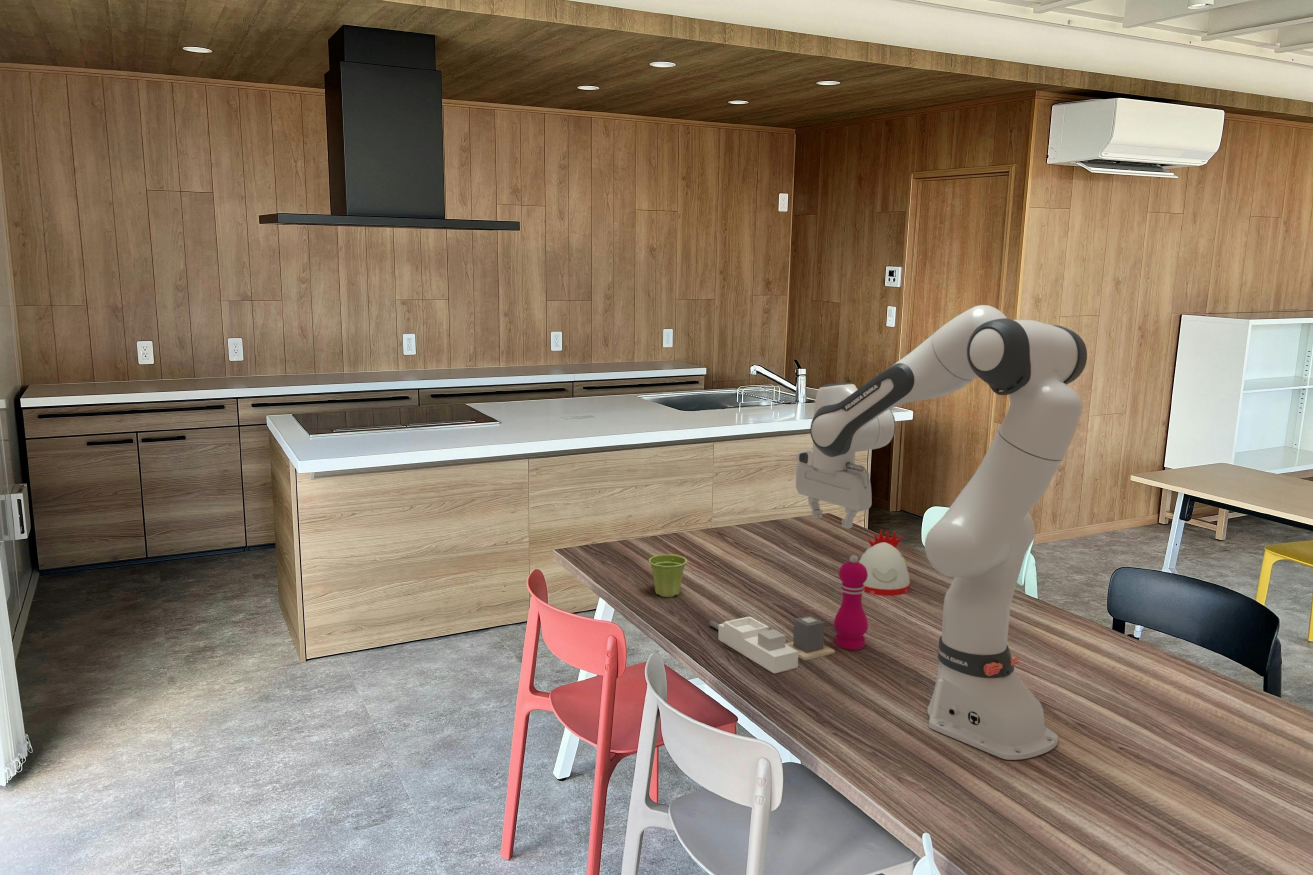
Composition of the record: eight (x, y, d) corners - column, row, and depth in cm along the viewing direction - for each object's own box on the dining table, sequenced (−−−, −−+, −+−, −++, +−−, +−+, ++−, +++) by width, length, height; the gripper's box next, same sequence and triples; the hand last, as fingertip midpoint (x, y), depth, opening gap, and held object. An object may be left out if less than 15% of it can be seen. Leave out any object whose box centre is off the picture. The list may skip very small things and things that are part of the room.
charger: (823, 649, 194) (824, 621, 193) (806, 653, 192) (807, 625, 191) (809, 641, 198) (810, 614, 197) (793, 645, 196) (794, 618, 195)
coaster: (834, 652, 194) (834, 650, 194) (805, 660, 190) (805, 657, 190) (810, 639, 201) (810, 637, 201) (781, 647, 197) (781, 644, 197)
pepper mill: (867, 652, 194) (871, 561, 191) (832, 649, 196) (836, 559, 192) (866, 639, 201) (871, 551, 198) (833, 636, 203) (836, 549, 199)
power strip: (799, 666, 187) (800, 639, 186) (772, 674, 183) (773, 645, 182) (723, 622, 210) (723, 597, 209) (697, 628, 207) (698, 603, 206)
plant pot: (686, 600, 225) (687, 566, 224) (648, 599, 225) (648, 565, 224) (686, 587, 234) (686, 554, 233) (649, 586, 235) (649, 554, 233)
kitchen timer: (912, 597, 228) (915, 539, 226) (855, 593, 231) (858, 536, 228) (906, 579, 242) (909, 524, 239) (852, 576, 244) (855, 521, 242)
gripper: (880, 465, 186) (877, 531, 189) (813, 450, 204) (811, 510, 206) (857, 468, 183) (854, 536, 185) (791, 452, 200) (789, 514, 203)
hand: (831, 522), depth 196 cm, fingers open, 8 cm apart
